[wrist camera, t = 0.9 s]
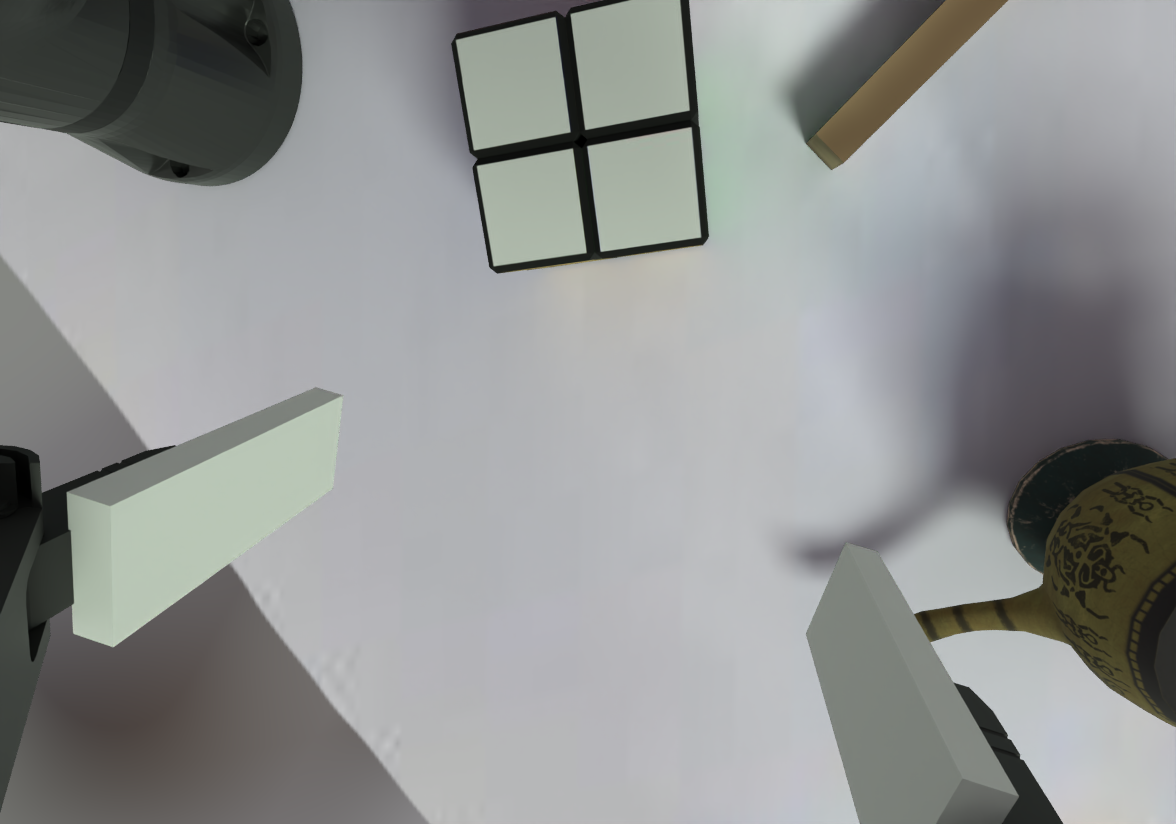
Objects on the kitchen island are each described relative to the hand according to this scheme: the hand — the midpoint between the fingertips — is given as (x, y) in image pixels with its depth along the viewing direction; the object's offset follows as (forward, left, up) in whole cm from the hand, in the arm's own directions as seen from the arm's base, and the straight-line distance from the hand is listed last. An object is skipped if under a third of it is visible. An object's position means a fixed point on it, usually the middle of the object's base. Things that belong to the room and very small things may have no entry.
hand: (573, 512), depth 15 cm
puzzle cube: (-9, +6, -23) cm, 26 cm away
